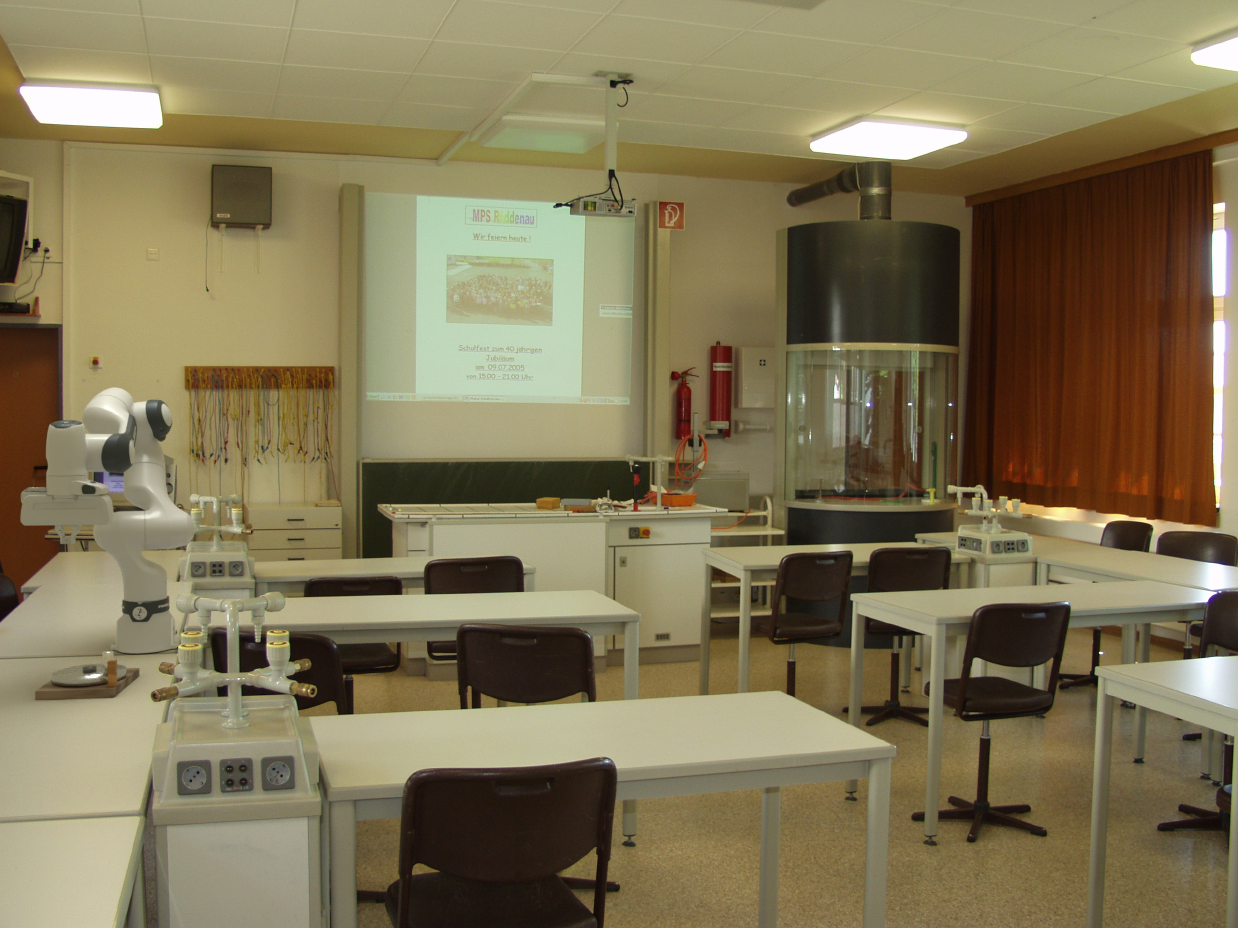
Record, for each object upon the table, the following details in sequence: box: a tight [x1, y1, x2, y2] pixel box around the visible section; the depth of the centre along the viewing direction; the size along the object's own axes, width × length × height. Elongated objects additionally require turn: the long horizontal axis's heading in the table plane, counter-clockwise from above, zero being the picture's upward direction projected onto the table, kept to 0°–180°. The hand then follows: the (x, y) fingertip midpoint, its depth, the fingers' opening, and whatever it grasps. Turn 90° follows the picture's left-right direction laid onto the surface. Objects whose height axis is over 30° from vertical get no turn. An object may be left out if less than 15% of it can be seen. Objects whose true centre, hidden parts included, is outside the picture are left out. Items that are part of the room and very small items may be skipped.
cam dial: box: [51, 649, 128, 687], centre depth 243 cm, size 16×16×7 cm
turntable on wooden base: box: [34, 659, 141, 701], centre depth 243 cm, size 20×17×8 cm
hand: (67, 543), depth 246 cm, fingers closed
